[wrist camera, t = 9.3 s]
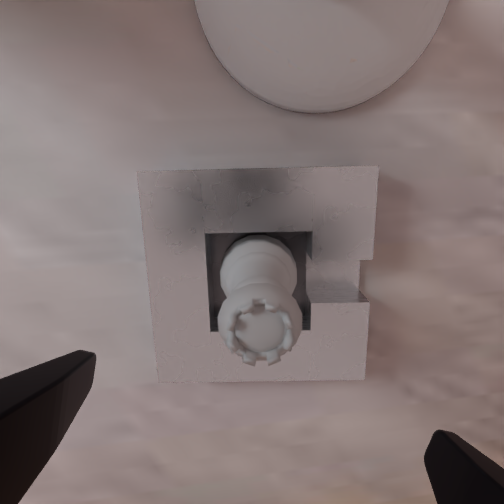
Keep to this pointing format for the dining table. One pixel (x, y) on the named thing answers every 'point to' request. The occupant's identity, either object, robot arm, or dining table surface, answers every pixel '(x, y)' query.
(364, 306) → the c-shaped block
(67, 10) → the dining table surface
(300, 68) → the candlestick
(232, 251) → the rook chess piece
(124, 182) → the dining table surface
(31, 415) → the robot arm
